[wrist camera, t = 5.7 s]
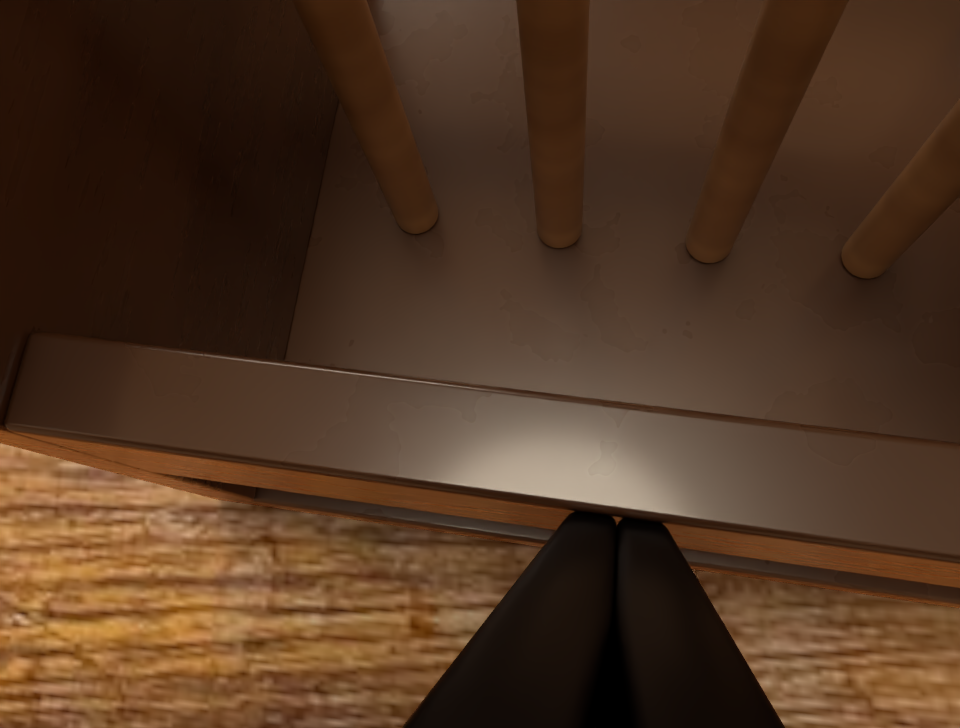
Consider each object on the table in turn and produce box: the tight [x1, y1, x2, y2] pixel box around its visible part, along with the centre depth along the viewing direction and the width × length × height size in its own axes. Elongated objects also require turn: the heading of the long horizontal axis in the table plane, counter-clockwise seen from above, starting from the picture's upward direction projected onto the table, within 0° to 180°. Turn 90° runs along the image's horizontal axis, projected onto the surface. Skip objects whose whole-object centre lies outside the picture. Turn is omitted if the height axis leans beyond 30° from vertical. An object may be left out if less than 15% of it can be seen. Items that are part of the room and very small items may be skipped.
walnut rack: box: [0, 0, 960, 608], centre depth 11 cm, size 11×14×10 cm
